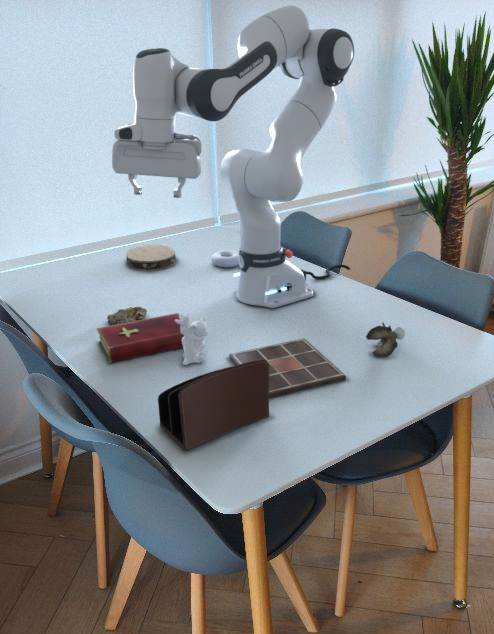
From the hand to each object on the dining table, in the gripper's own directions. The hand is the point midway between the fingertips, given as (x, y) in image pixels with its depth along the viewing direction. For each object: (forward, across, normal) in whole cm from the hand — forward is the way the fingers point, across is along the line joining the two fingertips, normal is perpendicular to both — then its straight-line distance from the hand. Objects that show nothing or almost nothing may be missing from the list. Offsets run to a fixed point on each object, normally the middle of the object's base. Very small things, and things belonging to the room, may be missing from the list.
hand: (157, 195), depth 142 cm
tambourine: (+31, +16, -47) cm, 58 cm away
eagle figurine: (+31, -57, +6) cm, 65 cm away
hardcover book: (+34, +1, +11) cm, 35 cm away
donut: (+30, -9, -48) cm, 57 cm away
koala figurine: (+34, -12, +17) cm, 39 cm away
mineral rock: (+33, +10, -2) cm, 35 cm away
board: (+32, -34, +19) cm, 51 cm away
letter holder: (+34, -22, +42) cm, 59 cm away
